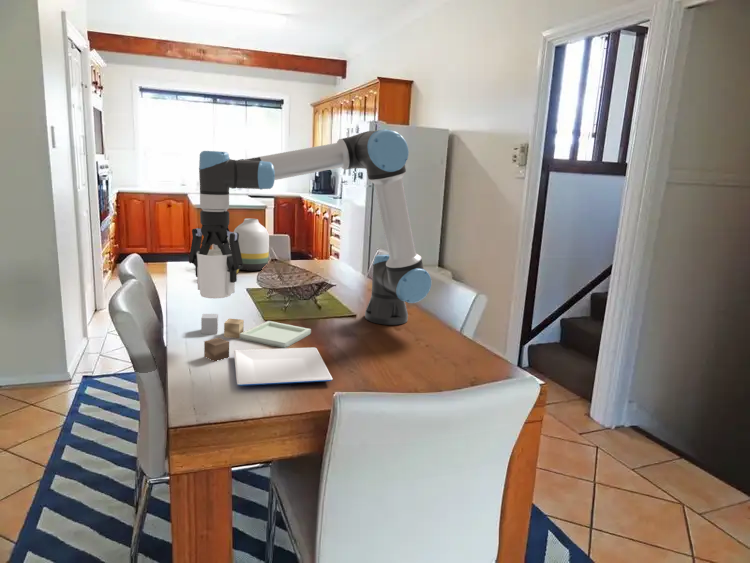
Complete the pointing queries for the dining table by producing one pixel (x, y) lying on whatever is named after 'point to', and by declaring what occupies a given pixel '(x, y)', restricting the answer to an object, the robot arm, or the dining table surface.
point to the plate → (279, 366)
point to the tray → (275, 334)
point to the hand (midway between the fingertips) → (216, 291)
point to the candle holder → (212, 274)
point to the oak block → (233, 328)
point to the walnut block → (216, 349)
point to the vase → (253, 244)
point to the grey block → (209, 324)
